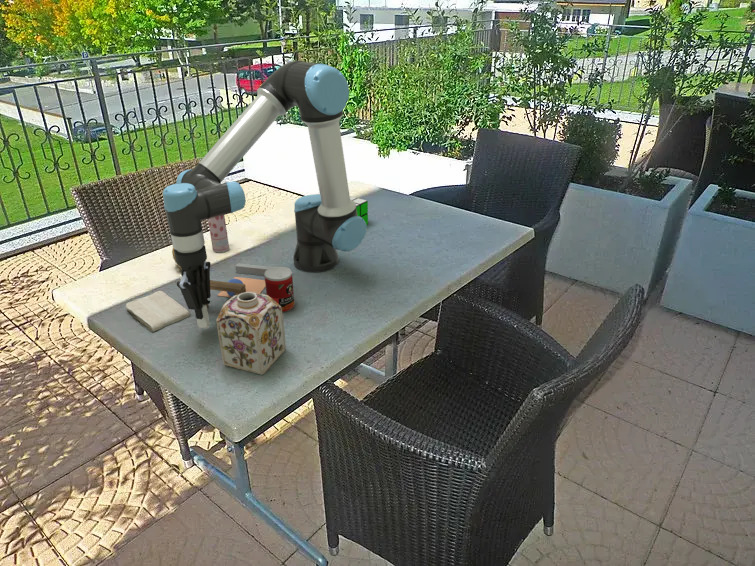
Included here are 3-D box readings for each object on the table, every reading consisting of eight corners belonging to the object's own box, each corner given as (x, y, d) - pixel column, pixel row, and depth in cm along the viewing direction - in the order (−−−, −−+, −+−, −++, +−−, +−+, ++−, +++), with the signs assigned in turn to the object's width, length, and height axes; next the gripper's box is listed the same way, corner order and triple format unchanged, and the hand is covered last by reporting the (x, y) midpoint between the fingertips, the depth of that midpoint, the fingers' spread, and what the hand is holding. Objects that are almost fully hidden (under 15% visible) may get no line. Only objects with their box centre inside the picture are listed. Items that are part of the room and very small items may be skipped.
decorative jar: (222, 365, 133) (211, 303, 124) (248, 340, 143) (239, 280, 134) (264, 376, 130) (255, 313, 121) (288, 349, 139) (282, 289, 130)
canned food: (283, 315, 153) (279, 281, 148) (262, 307, 157) (258, 274, 152) (300, 303, 159) (297, 270, 154) (279, 296, 163) (276, 263, 157)
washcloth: (161, 295, 164) (159, 287, 163) (192, 317, 154) (191, 308, 152) (123, 311, 157) (120, 301, 155) (153, 335, 146) (150, 325, 144)
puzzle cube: (348, 219, 216) (347, 195, 211) (368, 224, 211) (368, 200, 206) (332, 227, 209) (331, 202, 204) (352, 233, 204) (352, 208, 199)
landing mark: (270, 281, 171) (270, 280, 171) (254, 300, 161) (254, 299, 160) (235, 277, 173) (234, 276, 173) (217, 295, 163) (217, 295, 163)
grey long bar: (279, 274, 175) (278, 267, 174) (276, 277, 173) (275, 270, 172) (239, 269, 178) (238, 263, 176) (236, 272, 176) (235, 265, 175)
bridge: (202, 306, 158) (197, 278, 153) (248, 312, 155) (245, 284, 150) (197, 311, 155) (192, 283, 151) (244, 317, 152) (240, 289, 148)
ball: (242, 301, 161) (248, 289, 165) (237, 288, 157) (244, 275, 161) (225, 299, 162) (232, 287, 166) (220, 286, 158) (227, 274, 162)
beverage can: (217, 254, 188) (211, 214, 180) (210, 249, 191) (203, 209, 184) (232, 249, 191) (226, 210, 184) (224, 244, 195) (218, 205, 187)
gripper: (189, 234, 140) (203, 312, 151) (160, 256, 129) (178, 338, 140) (215, 237, 138) (228, 315, 150) (189, 259, 127) (204, 341, 139)
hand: (204, 326), depth 145 cm, fingers closed
